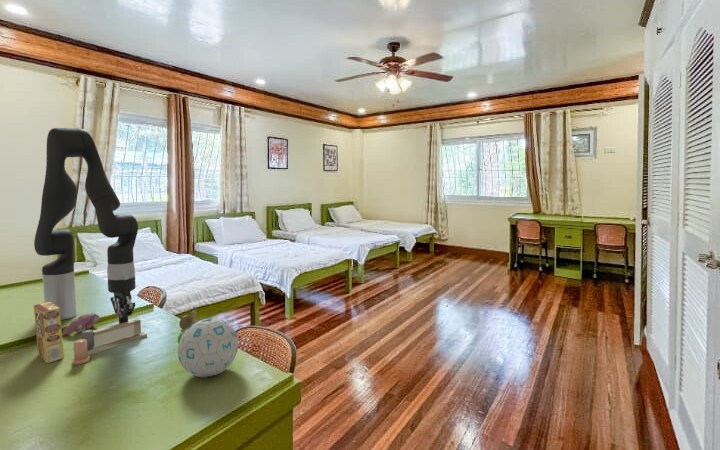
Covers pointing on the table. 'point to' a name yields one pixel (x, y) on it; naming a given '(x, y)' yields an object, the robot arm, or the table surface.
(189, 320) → the snail figurine
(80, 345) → the peach rounded knob
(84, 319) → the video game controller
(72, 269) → the robot arm
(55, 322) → the candy box
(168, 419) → the table surface
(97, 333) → the beige wooden bar
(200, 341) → the puzzle ball
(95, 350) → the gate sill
